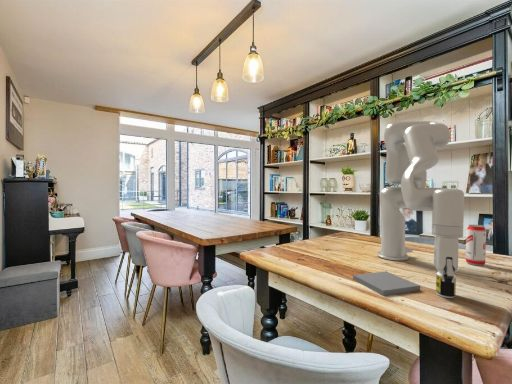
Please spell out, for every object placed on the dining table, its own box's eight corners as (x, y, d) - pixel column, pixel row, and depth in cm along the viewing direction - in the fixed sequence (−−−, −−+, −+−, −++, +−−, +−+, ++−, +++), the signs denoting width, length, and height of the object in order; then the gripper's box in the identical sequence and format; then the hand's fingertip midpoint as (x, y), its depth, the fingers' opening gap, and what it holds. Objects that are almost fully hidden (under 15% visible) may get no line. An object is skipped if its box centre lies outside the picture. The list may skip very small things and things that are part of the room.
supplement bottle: (432, 292, 82) (432, 264, 81) (446, 291, 82) (447, 264, 82) (444, 299, 77) (445, 269, 76) (459, 298, 77) (460, 269, 77)
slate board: (386, 275, 96) (386, 271, 96) (420, 290, 83) (420, 285, 83) (353, 279, 92) (353, 275, 92) (383, 295, 79) (383, 290, 79)
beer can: (482, 263, 112) (483, 225, 112) (487, 267, 106) (488, 227, 106) (463, 261, 115) (464, 224, 114) (468, 265, 109) (469, 226, 109)
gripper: (429, 225, 88) (427, 280, 89) (435, 234, 73) (433, 300, 74) (457, 227, 84) (455, 284, 85) (469, 237, 69) (467, 306, 70)
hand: (445, 291), depth 79 cm, fingers closed on supplement bottle, 4 cm apart
